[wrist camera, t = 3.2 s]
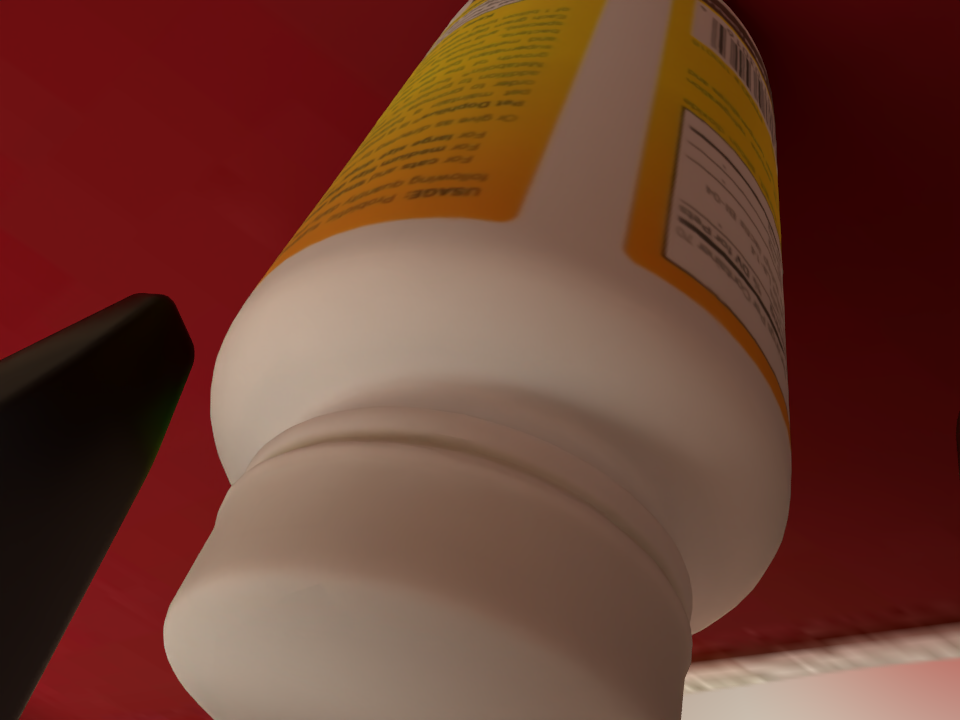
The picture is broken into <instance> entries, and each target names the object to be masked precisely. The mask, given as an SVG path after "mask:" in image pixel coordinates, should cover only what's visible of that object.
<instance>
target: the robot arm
mask: <svg viewBox="0 0 960 720" xmlns="http://www.w3.org/2000/svg"><path fill="white" fill-rule="evenodd" d="M193 362H194V345H193V343H192V340H191V338H190V336H189V334H188V331H187V329H186V327H185V325H184V323H183V320H182V318H181V316H180V314H179V312H178V309H177V307H176V305H175V303H174V302H173V301H172V300H171V299H170V298H169V297H168V296H165V295H161V294H147V293H138V294H133V295H131V296H129V297H127V298H125V299H123V300H121V301H119V302H117V303H115V304H113V305H111V306H109V307H107V308H105V309H103V310H101V311H99V312H97V313H95V314H93V315H91V316H89V317H87V318H85V319H83V320H81V321H79V322H77V323H75V324H72V325H70V326H68V327H66V328H64V329H62V330H60V331H58V332H56V333H54V334H52V335H50V336H48V337H46V338H44V339H42V340H40V341H38V342H36V343H34V344H32V345H30V346H28V347H26V348H24V349H22V350H20V351H18V352H16V353H14V354H12V355H10V356H8V357H6V358H4V359H2V360H0V720H19V718H20V716H21V714H22V712H23V710H24V708H25V706H26V704H27V703H28V701H29V699H30V697H31V695H32V693H33V691H34V689H35V687H36V685H37V684H38V682H39V680H40V678H41V676H42V674H43V672H44V670H45V668H46V666H47V665H48V663H49V661H50V659H51V657H52V655H53V653H54V651H55V649H56V647H57V646H58V644H59V642H60V640H61V638H62V636H63V634H64V632H65V630H66V629H67V627H68V625H69V623H70V621H71V619H72V617H73V615H74V613H75V611H76V610H77V608H78V606H79V604H80V602H81V600H82V598H83V596H84V594H85V592H86V591H87V589H88V587H89V585H90V583H91V581H92V579H93V577H94V575H95V573H96V572H97V570H98V568H99V566H100V564H101V562H102V560H103V558H104V556H105V554H106V553H107V551H108V549H109V547H110V545H111V543H112V541H113V539H114V537H115V536H116V534H117V532H118V530H119V528H120V526H121V524H122V522H123V520H124V518H125V517H126V515H127V513H128V511H129V509H130V507H131V505H132V503H133V501H134V499H135V498H136V496H137V494H138V492H139V490H140V488H141V486H142V484H143V482H144V480H145V478H146V476H147V474H148V472H149V470H150V468H151V466H152V464H153V462H154V460H155V457H156V455H157V453H158V450H159V448H160V446H161V443H162V441H163V438H164V436H165V433H166V431H167V428H168V426H169V423H170V421H171V418H172V416H173V413H174V411H175V408H176V406H177V403H178V401H179V398H180V396H181V393H182V391H183V388H184V386H185V383H186V381H187V378H188V376H189V373H190V371H191V368H192V366H193ZM956 439H957V452H958V465H959V478H960V411H959V415H958V419H957V426H956Z"/></svg>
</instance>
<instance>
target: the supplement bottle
mask: <svg viewBox="0 0 960 720" xmlns="http://www.w3.org/2000/svg"><path fill="white" fill-rule="evenodd" d="M782 276H783V268H782V254H781V226H780V215H779V192H778V169H777V151H776V134H775V116H774V107H773V100H772V92H771V88H770V84H769V80H768V76H767V71H766V69H765V66H764V63H763V61H762V58H761V55H760V53H759V51H758V49H757V47H756V45H755V43H754V41H753V40H752V38H751V36H750V34H749V32H748V31H747V29H746V28H745V27H744V25H743V24H742V22H741V21H740V20H739V18H738V17H737V16H736V15H735V14H734V12H733V11H732V10H731V9H730V8H729V6H728V5H727V4H725V3H724V2H723V1H722V0H469V1H468V2H467V3H466V4H465V5H464V6H463V8H462V9H461V10H460V11H459V12H458V13H457V14H456V15H455V17H454V18H453V19H452V20H451V22H450V23H449V24H448V26H447V27H446V29H445V30H444V31H443V33H442V34H441V35H440V37H439V38H438V40H437V41H436V42H435V43H434V44H433V46H432V47H431V49H430V50H429V52H428V53H427V55H426V56H425V58H424V59H423V60H422V62H421V63H420V64H419V65H418V67H417V68H416V69H415V71H414V72H413V74H412V75H411V76H410V78H409V79H408V80H407V82H406V83H405V84H404V86H403V87H402V89H401V90H400V91H399V93H398V94H397V95H396V97H395V98H394V99H393V101H392V102H391V104H390V105H389V106H388V108H387V109H386V111H385V112H384V113H383V114H382V116H381V117H380V118H379V120H378V121H377V123H376V125H375V126H374V128H373V129H372V130H371V132H370V133H369V134H368V136H367V137H366V138H365V140H364V141H363V143H362V144H361V145H360V147H359V148H358V149H357V151H356V152H355V154H354V155H353V156H352V158H351V159H350V161H349V162H348V163H347V165H346V166H345V167H344V169H343V170H342V171H341V173H340V174H339V176H338V177H337V178H336V180H335V181H334V182H333V184H332V185H331V186H330V188H329V189H328V190H327V192H326V193H325V194H324V196H323V197H322V199H321V200H320V201H319V203H318V204H317V205H316V207H315V208H314V209H313V211H312V212H311V213H310V215H309V216H308V217H307V219H306V220H305V221H304V223H303V224H302V225H301V227H300V228H299V229H298V231H297V232H296V233H295V235H294V236H293V237H292V239H291V240H290V242H289V243H288V244H287V246H286V247H285V248H284V250H283V251H282V252H281V254H280V255H279V256H278V258H277V259H276V261H275V262H274V263H273V265H272V266H271V267H270V269H269V270H268V272H267V273H266V274H265V276H264V277H263V278H262V280H261V281H260V282H259V284H258V285H257V287H256V288H255V289H254V291H253V292H252V293H251V295H250V296H249V298H248V299H247V301H246V302H245V303H244V305H243V307H242V309H241V310H240V312H239V313H238V315H237V316H236V318H235V319H234V321H233V323H232V324H231V326H230V328H229V330H228V332H227V334H226V337H225V339H224V341H223V343H222V346H221V348H220V351H219V354H218V356H217V360H216V364H215V367H214V373H213V380H212V387H211V407H210V416H211V423H212V429H213V435H214V440H215V444H216V448H217V451H218V455H219V458H220V460H221V463H222V465H223V468H224V470H225V472H226V475H227V477H228V479H229V482H230V484H231V485H232V486H231V488H230V489H229V491H228V492H227V494H226V496H225V499H224V501H223V503H222V505H221V507H220V509H219V511H218V514H217V518H216V522H215V527H214V529H213V531H212V533H211V534H210V536H209V538H208V540H207V541H206V543H205V545H204V547H203V548H202V550H201V552H200V554H199V555H198V557H197V559H196V560H195V562H194V564H193V566H192V567H191V569H190V571H189V573H188V574H187V576H186V578H185V580H184V581H183V583H182V585H181V587H180V588H179V590H178V592H177V594H176V595H175V597H174V599H173V601H172V602H171V604H170V606H169V609H168V613H167V616H166V619H165V622H164V632H163V633H164V648H165V651H166V654H167V658H168V660H169V663H170V665H171V667H172V669H173V671H174V673H175V674H176V676H177V678H178V680H179V681H180V682H181V684H182V685H183V687H184V688H185V689H186V691H187V692H188V693H189V694H190V695H191V696H192V697H193V698H194V700H195V701H196V702H197V703H198V704H199V705H200V706H201V707H202V708H203V709H204V710H205V711H206V712H207V713H208V714H209V715H210V716H211V717H212V718H213V719H214V720H681V712H682V700H683V689H684V679H685V677H686V674H687V672H688V669H689V667H690V664H691V656H692V635H693V634H695V633H697V632H699V631H701V630H703V629H705V628H706V627H708V626H709V625H711V624H712V623H714V622H715V621H717V620H718V619H720V618H721V617H722V616H724V615H725V614H726V613H728V612H729V611H730V610H732V609H733V608H734V607H736V606H737V605H738V604H739V603H740V602H741V601H742V600H743V599H744V598H745V597H746V596H747V595H748V594H749V593H750V592H751V591H752V590H753V589H754V587H755V586H756V585H757V583H758V582H759V580H760V579H761V577H762V576H763V574H764V573H765V571H766V570H767V568H768V566H769V565H770V563H771V561H772V560H773V558H774V556H775V554H776V552H777V550H778V548H779V546H780V544H781V542H782V539H783V535H784V531H785V527H786V523H787V519H788V512H789V504H790V496H791V439H790V415H789V399H788V396H789V391H788V376H787V360H786V339H785V316H784V296H783V277H782Z"/></svg>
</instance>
